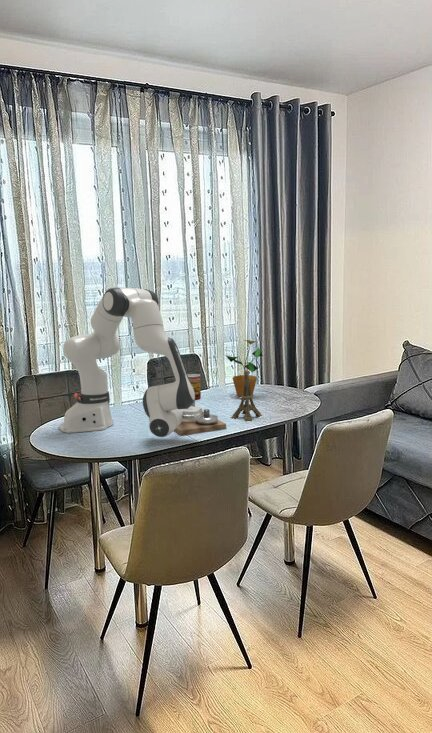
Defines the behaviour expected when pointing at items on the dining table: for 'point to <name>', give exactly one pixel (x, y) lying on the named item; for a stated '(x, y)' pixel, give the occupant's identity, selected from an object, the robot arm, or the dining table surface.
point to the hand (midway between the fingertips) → (180, 407)
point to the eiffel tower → (246, 401)
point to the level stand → (197, 427)
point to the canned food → (195, 384)
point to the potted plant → (240, 379)
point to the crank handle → (206, 417)
